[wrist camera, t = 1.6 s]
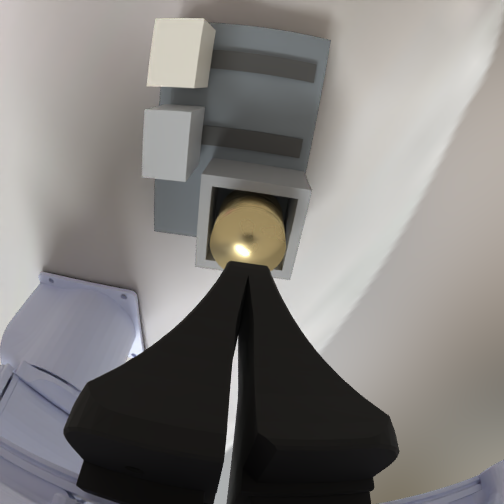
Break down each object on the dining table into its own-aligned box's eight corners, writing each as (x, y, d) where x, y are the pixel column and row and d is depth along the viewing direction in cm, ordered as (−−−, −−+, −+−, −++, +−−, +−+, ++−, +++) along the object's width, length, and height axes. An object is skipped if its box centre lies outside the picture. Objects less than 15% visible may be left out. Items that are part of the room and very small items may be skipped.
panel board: (161, 220, 19) (137, 257, 15) (177, 26, 13) (149, 10, 9) (286, 237, 19) (291, 280, 16) (325, 43, 13) (345, 30, 9)
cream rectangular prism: (167, 85, 13) (146, 86, 11) (175, 29, 12) (155, 18, 9) (207, 87, 13) (194, 88, 11) (215, 30, 12) (204, 18, 9)
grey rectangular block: (162, 160, 15) (141, 177, 13) (166, 104, 14) (144, 109, 11) (199, 163, 15) (185, 181, 13) (204, 106, 14) (191, 112, 11)
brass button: (216, 239, 16) (207, 271, 14) (222, 182, 15) (213, 205, 12) (276, 248, 16) (278, 281, 14) (288, 191, 15) (292, 217, 12)
